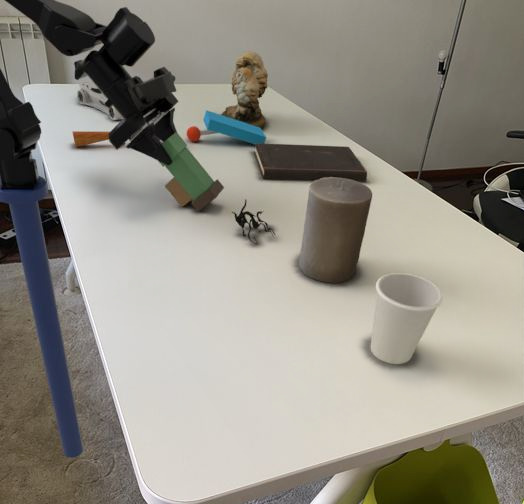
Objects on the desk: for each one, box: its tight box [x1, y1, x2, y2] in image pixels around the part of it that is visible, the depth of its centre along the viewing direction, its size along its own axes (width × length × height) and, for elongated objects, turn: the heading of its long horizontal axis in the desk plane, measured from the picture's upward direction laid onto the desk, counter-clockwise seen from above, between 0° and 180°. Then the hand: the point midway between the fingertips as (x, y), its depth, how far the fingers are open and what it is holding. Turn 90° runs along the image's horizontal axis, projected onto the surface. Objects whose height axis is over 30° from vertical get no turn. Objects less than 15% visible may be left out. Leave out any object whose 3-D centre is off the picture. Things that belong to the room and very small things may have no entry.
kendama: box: [72, 123, 161, 148], centre depth 125 cm, size 6×6×20 cm
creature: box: [231, 198, 276, 245], centre depth 97 cm, size 8×5×8 cm
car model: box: [76, 81, 123, 121], centre depth 147 cm, size 11×24×5 cm, turn 42°
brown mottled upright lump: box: [221, 50, 269, 130], centre depth 143 cm, size 18×12×17 cm, turn 9°
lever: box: [186, 109, 267, 145], centre depth 134 cm, size 7×7×18 cm
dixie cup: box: [370, 272, 444, 365], centre depth 72 cm, size 8×8×10 cm
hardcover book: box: [253, 142, 368, 182], centre depth 125 cm, size 16×23×2 cm
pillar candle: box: [298, 177, 373, 284], centre depth 87 cm, size 10×10×15 cm
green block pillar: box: [157, 131, 225, 212], centre depth 102 cm, size 12×5×12 cm, turn 76°
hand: (177, 158), depth 101 cm, fingers open, 6 cm apart
